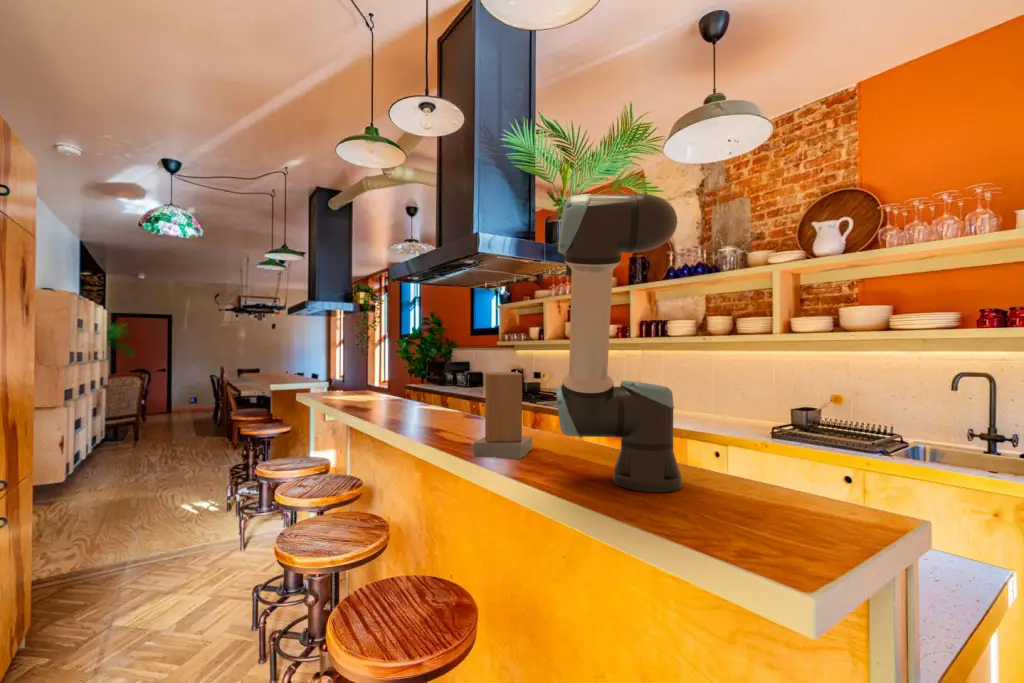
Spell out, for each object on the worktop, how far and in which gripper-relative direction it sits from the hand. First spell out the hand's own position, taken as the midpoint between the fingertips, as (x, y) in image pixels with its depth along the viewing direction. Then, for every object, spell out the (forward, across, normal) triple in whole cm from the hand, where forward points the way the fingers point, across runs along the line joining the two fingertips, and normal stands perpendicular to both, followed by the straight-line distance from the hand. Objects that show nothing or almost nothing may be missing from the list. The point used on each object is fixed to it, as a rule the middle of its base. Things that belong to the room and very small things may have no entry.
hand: (578, 332), depth 142 cm
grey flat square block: (+36, +6, -21) cm, 43 cm away
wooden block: (+32, +6, -22) cm, 40 cm away
